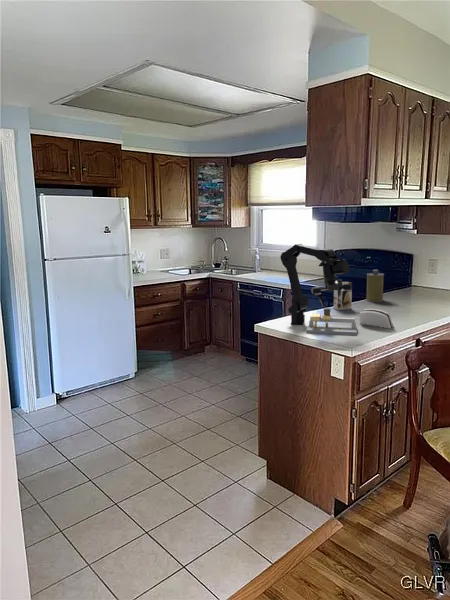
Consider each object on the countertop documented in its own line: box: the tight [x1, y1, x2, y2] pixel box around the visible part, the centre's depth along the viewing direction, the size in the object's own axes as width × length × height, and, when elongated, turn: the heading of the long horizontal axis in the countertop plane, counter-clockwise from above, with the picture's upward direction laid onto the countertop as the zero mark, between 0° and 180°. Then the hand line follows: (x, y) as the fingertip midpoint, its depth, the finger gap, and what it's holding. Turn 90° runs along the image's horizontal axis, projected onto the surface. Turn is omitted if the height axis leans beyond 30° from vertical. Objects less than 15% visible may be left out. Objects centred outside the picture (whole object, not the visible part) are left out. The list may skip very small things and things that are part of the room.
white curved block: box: [359, 308, 394, 329], centre depth 233 cm, size 17×5×10 cm, turn 46°
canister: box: [365, 269, 385, 303], centre depth 292 cm, size 11×10×20 cm
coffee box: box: [333, 281, 353, 311], centre depth 273 cm, size 9×6×16 cm
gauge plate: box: [305, 313, 358, 336], centre depth 226 cm, size 24×12×8 cm, turn 73°
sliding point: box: [321, 307, 333, 327], centre depth 228 cm, size 4×6×9 cm, turn 163°
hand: (332, 305), depth 224 cm, fingers open, 9 cm apart
